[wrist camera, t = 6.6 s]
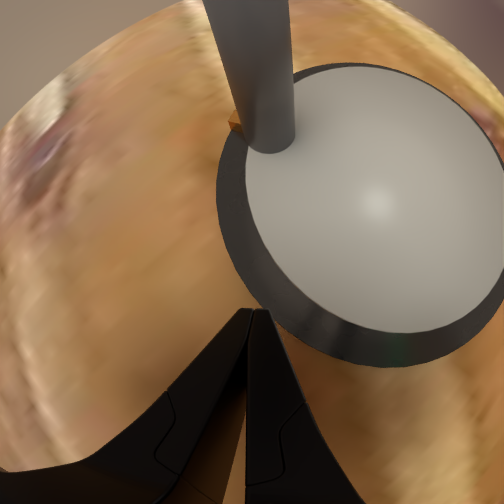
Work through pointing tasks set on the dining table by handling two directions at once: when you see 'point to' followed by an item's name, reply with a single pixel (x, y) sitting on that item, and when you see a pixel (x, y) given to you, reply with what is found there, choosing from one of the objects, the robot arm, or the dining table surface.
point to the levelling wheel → (362, 180)
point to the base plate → (302, 308)
